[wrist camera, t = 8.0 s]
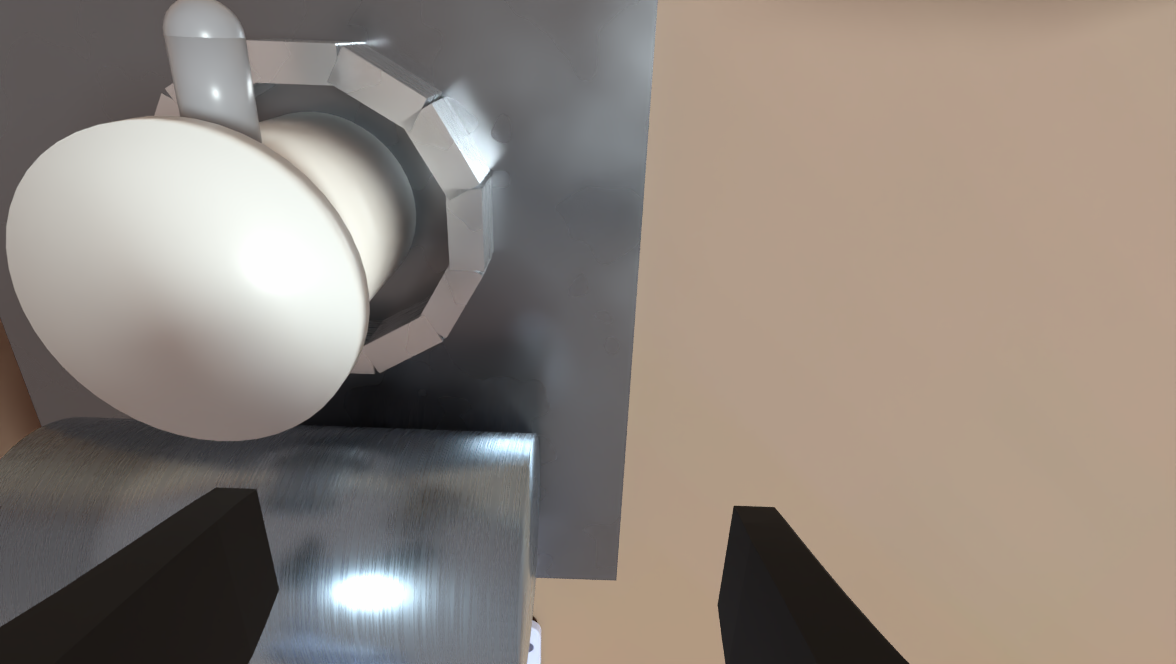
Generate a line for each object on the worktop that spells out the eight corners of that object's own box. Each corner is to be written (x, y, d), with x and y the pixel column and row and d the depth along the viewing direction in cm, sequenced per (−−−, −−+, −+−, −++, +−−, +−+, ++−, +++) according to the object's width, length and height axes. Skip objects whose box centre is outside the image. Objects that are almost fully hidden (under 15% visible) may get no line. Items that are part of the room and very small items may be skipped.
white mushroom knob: (443, 316, 17) (373, 448, 12) (231, 305, 17) (64, 433, 12) (428, 10, 14) (323, 0, 9) (170, -4, 14) (-93, -22, 9)
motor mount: (615, 553, 22) (622, 770, 16) (117, 535, 22) (-81, 746, 16) (657, -56, 15) (705, -119, 8) (-100, -84, 15) (-657, -172, 8)
